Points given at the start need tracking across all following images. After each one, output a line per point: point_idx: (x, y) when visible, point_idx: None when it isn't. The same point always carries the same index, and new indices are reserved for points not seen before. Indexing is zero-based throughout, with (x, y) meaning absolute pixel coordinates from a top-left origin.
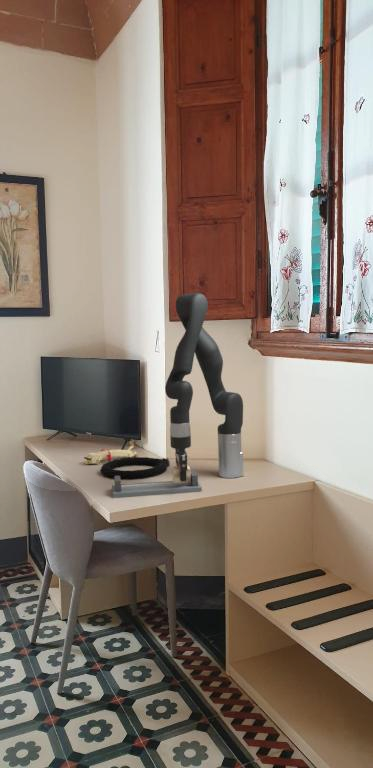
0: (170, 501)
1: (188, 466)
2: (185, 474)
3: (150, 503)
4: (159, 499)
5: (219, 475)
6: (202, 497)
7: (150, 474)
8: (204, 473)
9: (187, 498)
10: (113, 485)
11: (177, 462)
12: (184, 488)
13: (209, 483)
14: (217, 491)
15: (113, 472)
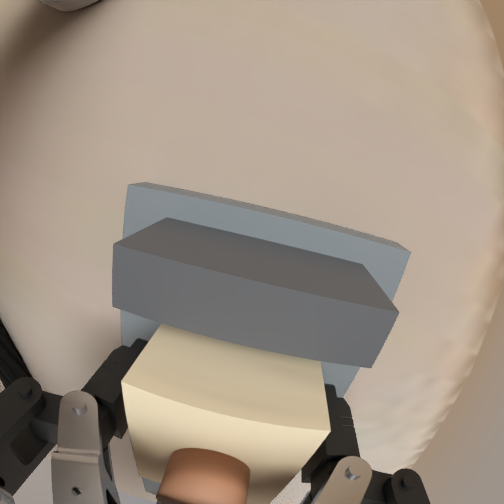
0: (422, 425)
1: (168, 403)
2: (339, 431)
3: (385, 468)
4: (367, 451)
5: (82, 5)
6: (486, 291)
7: (9, 353)
8: (7, 88)
9: (447, 364)
10: (150, 491)
11: (115, 486)
12: (354, 370)
13: (199, 86)
14: (447, 141)
15: None
